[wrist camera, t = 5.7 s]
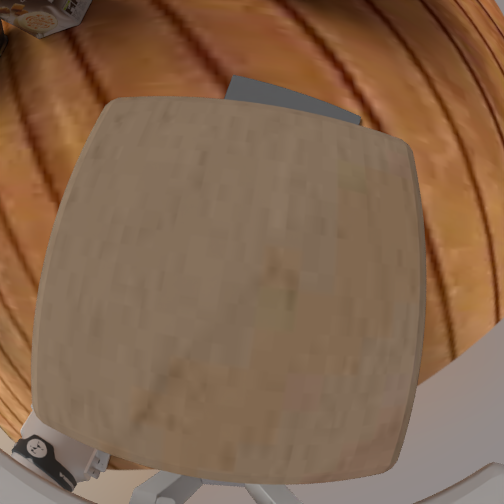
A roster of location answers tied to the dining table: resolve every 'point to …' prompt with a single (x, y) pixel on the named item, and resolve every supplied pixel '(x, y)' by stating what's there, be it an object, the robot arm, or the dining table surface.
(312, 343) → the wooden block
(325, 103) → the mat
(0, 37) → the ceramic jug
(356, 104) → the dining table surface
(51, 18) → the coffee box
